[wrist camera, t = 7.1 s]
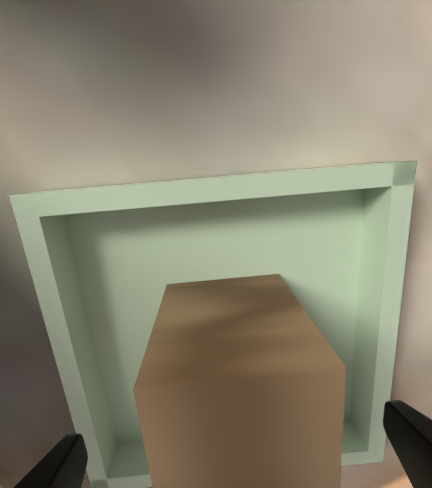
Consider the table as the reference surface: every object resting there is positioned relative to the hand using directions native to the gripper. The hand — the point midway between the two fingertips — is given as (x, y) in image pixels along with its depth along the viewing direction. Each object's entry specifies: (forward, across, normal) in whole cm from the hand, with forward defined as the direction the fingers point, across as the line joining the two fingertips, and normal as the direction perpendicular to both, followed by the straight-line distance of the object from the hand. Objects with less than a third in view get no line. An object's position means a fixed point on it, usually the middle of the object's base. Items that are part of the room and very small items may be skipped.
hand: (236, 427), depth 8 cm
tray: (+5, 0, 0) cm, 5 cm away
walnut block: (+5, 0, 0) cm, 5 cm away
